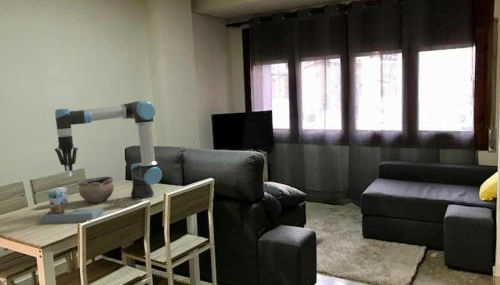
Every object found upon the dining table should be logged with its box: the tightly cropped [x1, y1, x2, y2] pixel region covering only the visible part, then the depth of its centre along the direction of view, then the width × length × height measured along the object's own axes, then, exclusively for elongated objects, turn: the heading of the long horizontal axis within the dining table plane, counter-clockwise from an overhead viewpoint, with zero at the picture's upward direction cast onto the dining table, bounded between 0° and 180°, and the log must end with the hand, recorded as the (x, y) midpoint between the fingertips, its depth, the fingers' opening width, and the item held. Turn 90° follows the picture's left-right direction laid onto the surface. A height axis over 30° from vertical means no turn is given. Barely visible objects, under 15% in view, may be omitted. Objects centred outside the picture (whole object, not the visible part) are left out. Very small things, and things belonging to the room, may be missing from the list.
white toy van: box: [47, 186, 69, 208], centre depth 275 cm, size 11×7×11 cm, turn 168°
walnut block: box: [49, 205, 65, 215], centre depth 241 cm, size 5×5×5 cm
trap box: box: [41, 208, 104, 224], centre depth 243 cm, size 29×16×4 cm, turn 87°
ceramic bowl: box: [77, 176, 114, 204], centre depth 279 cm, size 22×22×15 cm
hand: (69, 176), depth 241 cm, fingers closed
